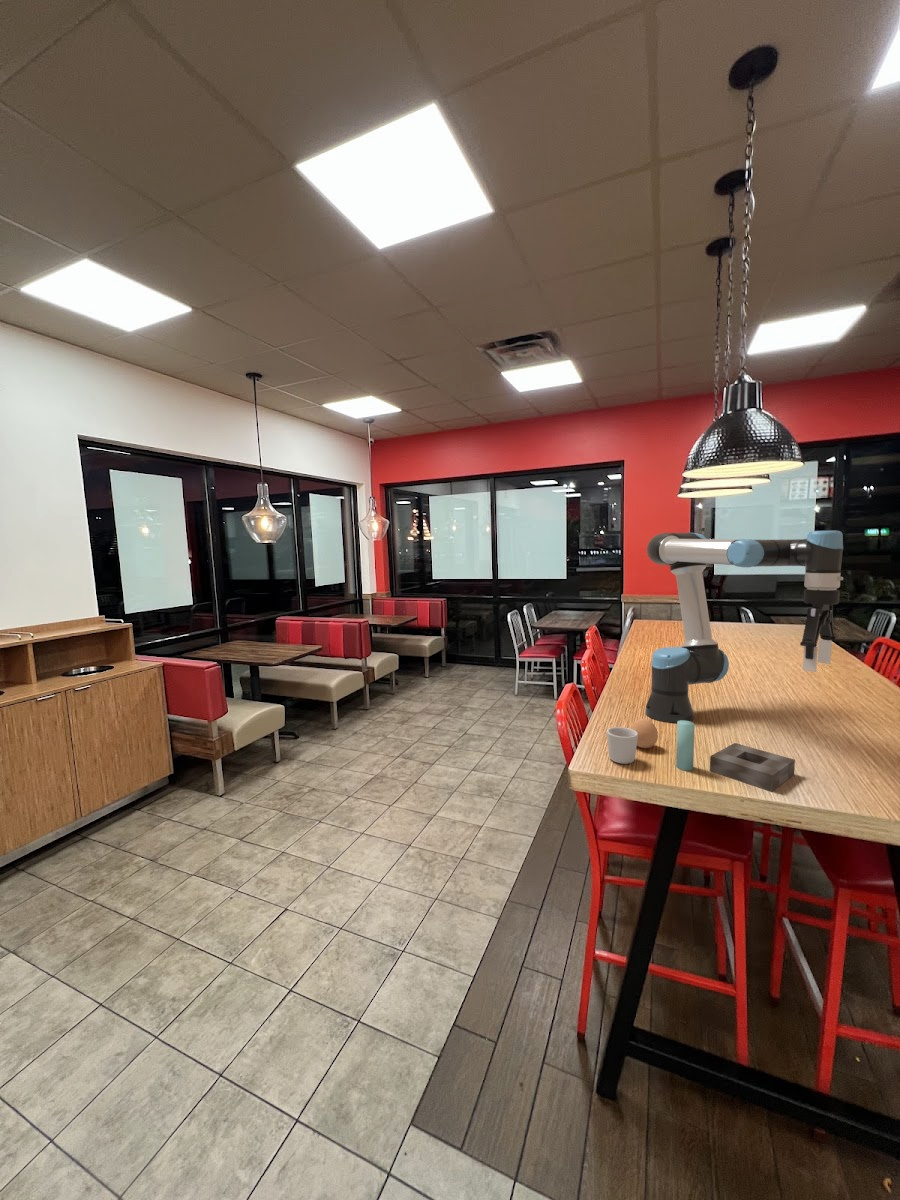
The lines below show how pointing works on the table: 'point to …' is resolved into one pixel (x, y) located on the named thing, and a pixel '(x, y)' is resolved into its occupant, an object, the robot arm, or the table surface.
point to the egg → (645, 733)
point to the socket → (752, 766)
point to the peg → (685, 745)
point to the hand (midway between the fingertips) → (816, 666)
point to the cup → (622, 744)
